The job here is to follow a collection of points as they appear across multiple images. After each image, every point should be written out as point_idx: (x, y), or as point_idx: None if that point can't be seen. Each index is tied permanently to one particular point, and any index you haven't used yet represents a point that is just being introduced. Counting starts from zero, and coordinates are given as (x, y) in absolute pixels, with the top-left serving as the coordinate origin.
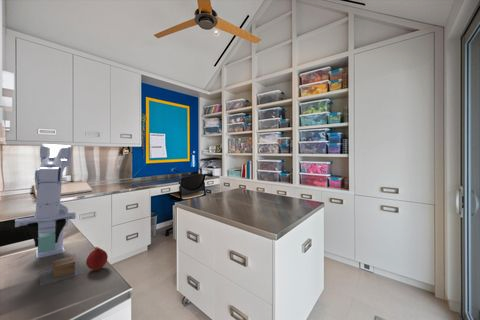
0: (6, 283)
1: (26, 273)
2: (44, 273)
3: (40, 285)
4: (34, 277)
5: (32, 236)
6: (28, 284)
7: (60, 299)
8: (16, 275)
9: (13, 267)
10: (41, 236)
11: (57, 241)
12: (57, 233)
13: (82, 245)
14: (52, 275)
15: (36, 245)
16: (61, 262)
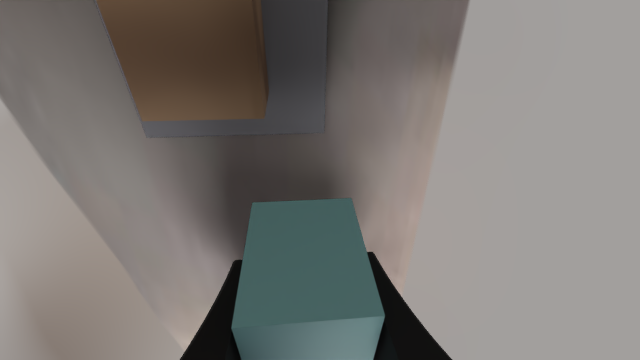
0: (437, 112)
1: (365, 165)
2: (304, 98)
3: None
4: (343, 96)
5: (436, 344)
6: (374, 20)
7: None
8: (396, 169)
9: (391, 242)
10: (357, 332)
11: (231, 269)
12: (214, 347)
13: (173, 305)
14: (267, 35)
15: (370, 259)
16: (204, 40)
